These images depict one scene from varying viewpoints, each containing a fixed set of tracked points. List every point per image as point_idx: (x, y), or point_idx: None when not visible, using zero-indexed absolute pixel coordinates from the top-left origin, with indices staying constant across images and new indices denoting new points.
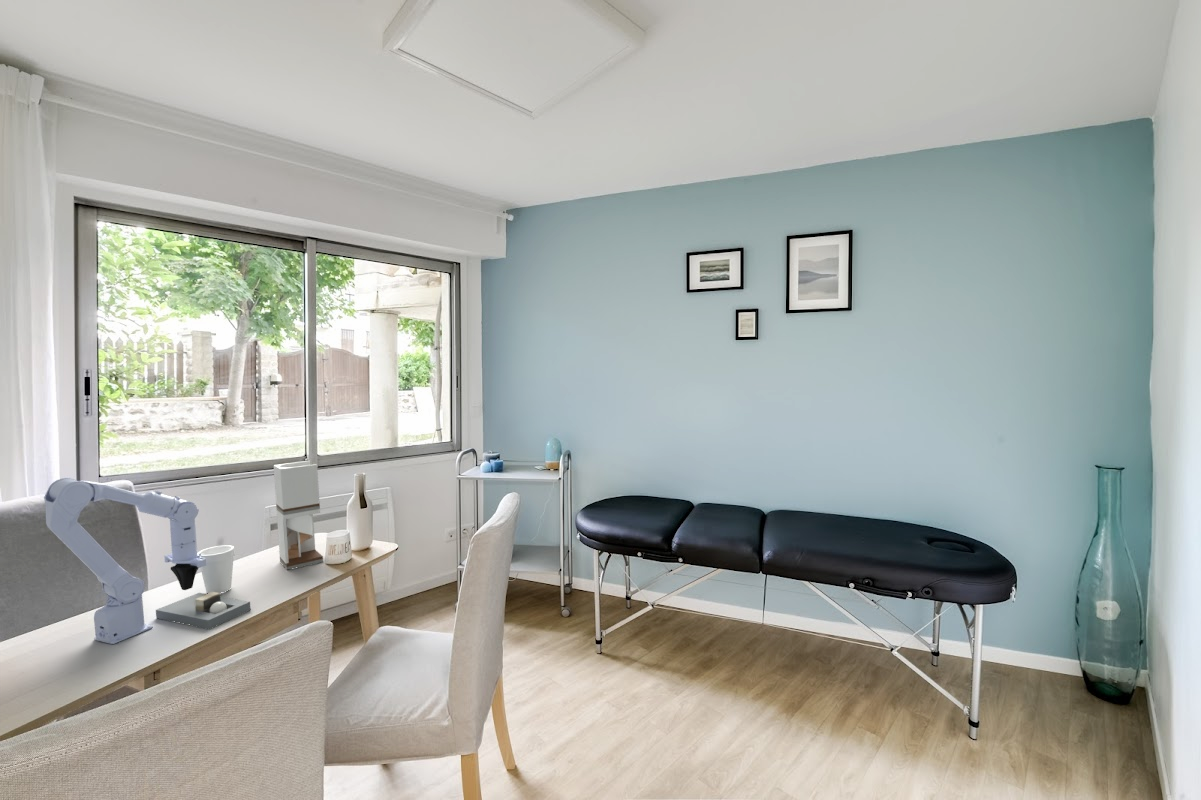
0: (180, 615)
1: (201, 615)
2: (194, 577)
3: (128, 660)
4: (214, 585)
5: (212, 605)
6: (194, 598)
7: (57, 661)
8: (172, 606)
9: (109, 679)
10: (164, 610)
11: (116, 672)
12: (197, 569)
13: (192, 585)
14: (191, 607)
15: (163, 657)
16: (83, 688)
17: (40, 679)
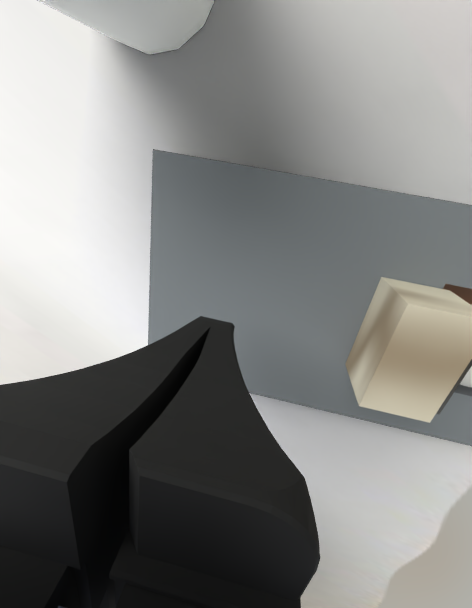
0: (310, 405)
1: None
2: (237, 363)
3: (339, 541)
4: (166, 11)
5: (469, 383)
6: (208, 238)
7: None
8: None
9: (368, 589)
10: None
11: (358, 573)
12: (266, 432)
13: (233, 331)
14: (298, 342)
15: (433, 541)
16: (340, 602)
17: None
